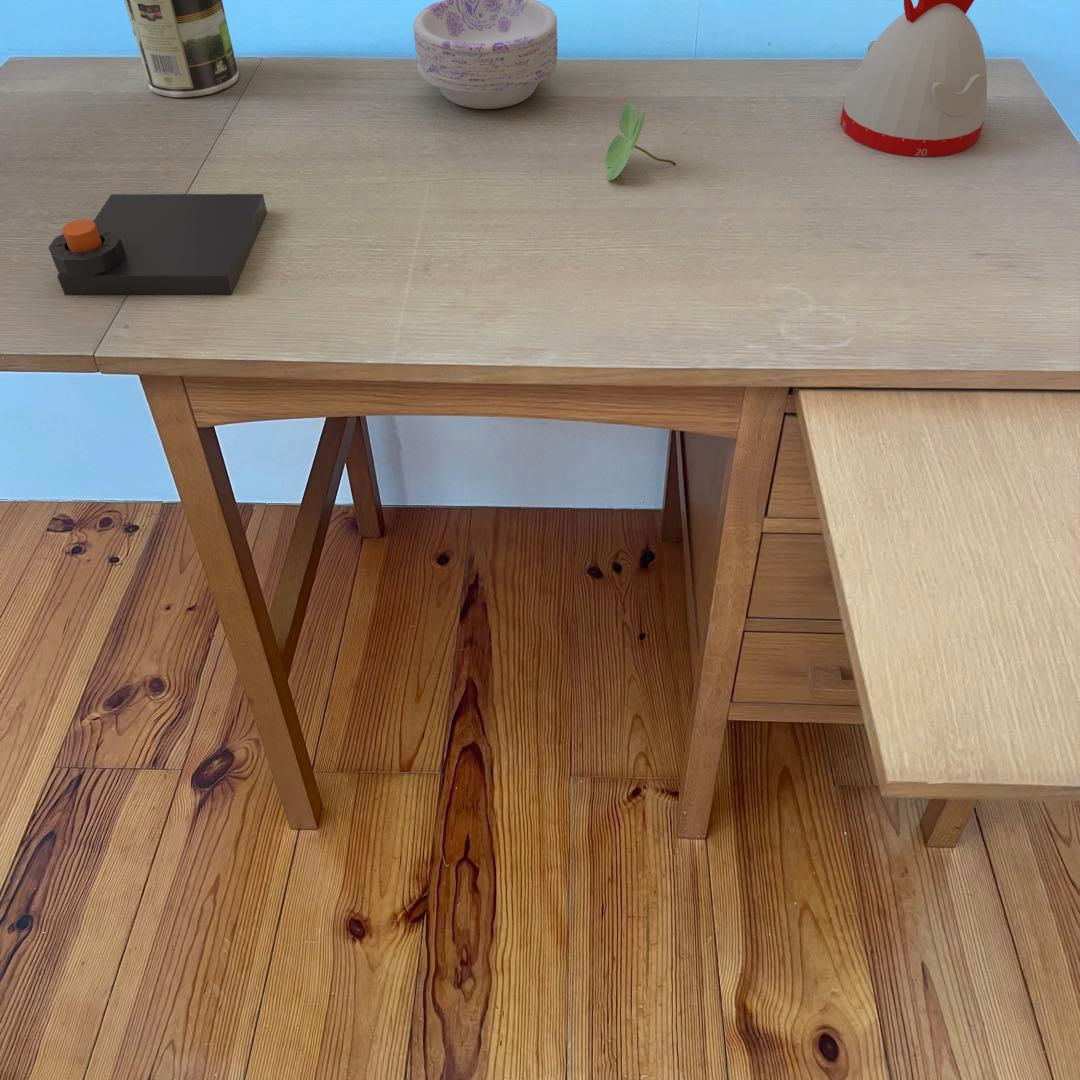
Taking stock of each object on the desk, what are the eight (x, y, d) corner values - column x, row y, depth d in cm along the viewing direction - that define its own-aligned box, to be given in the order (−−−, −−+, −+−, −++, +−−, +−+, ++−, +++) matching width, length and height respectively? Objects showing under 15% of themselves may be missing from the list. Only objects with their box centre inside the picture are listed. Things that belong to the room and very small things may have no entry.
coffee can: (239, 59, 119) (210, -77, 109) (239, 93, 112) (208, -48, 102) (149, 67, 117) (111, -70, 107) (144, 102, 110) (102, -40, 100)
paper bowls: (457, 134, 104) (451, 53, 98) (398, 83, 113) (389, 8, 108) (583, 102, 109) (584, 24, 103) (516, 57, 118) (514, -17, 113)
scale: (54, 297, 83) (39, 259, 81) (109, 213, 93) (97, 177, 91) (231, 297, 83) (221, 259, 80) (267, 213, 93) (259, 176, 90)
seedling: (643, 216, 101) (590, 189, 98) (661, 143, 102) (609, 113, 99) (686, 197, 95) (630, 167, 92) (705, 119, 96) (650, 87, 93)
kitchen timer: (1007, 143, 101) (1061, -21, 90) (888, 166, 98) (929, -1, 87) (926, 91, 110) (966, -64, 99) (815, 110, 107) (844, -47, 96)
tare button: (64, 254, 82) (57, 235, 81) (75, 238, 84) (68, 219, 82) (96, 254, 82) (89, 234, 81) (106, 238, 84) (99, 218, 82)
